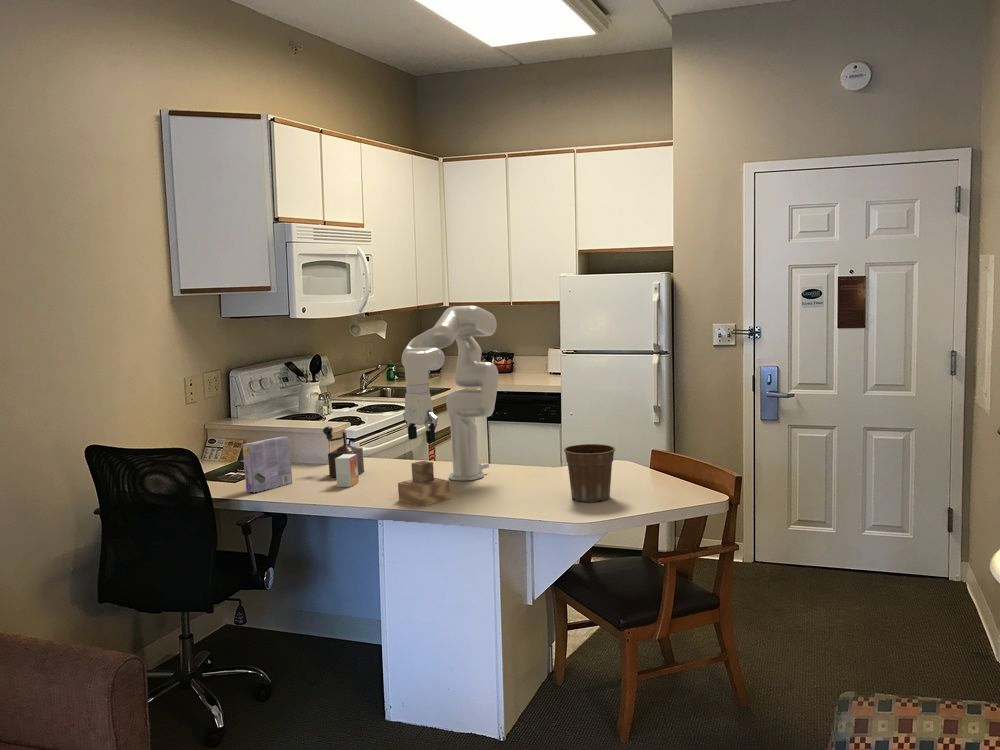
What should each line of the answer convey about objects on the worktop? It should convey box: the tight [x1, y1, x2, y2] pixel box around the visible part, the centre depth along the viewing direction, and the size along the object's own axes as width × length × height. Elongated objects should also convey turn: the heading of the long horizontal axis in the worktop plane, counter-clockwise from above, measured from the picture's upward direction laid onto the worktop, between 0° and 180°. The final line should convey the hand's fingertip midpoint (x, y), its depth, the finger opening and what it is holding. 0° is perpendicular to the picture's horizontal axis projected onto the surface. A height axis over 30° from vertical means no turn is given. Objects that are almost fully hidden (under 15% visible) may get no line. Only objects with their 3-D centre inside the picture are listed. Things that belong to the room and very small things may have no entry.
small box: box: [335, 454, 360, 488], centre depth 327 cm, size 8×6×10 cm
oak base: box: [397, 477, 451, 507], centre depth 299 cm, size 12×12×6 cm
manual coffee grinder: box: [322, 426, 365, 478], centre depth 345 cm, size 16×11×18 cm
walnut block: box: [411, 460, 435, 483], centre depth 299 cm, size 5×5×6 cm
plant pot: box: [563, 443, 616, 503], centre depth 290 cm, size 16×16×16 cm
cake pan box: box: [242, 436, 293, 494], centre depth 328 cm, size 19×5×18 cm, turn 145°
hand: (421, 440), depth 298 cm, fingers open, 9 cm apart
